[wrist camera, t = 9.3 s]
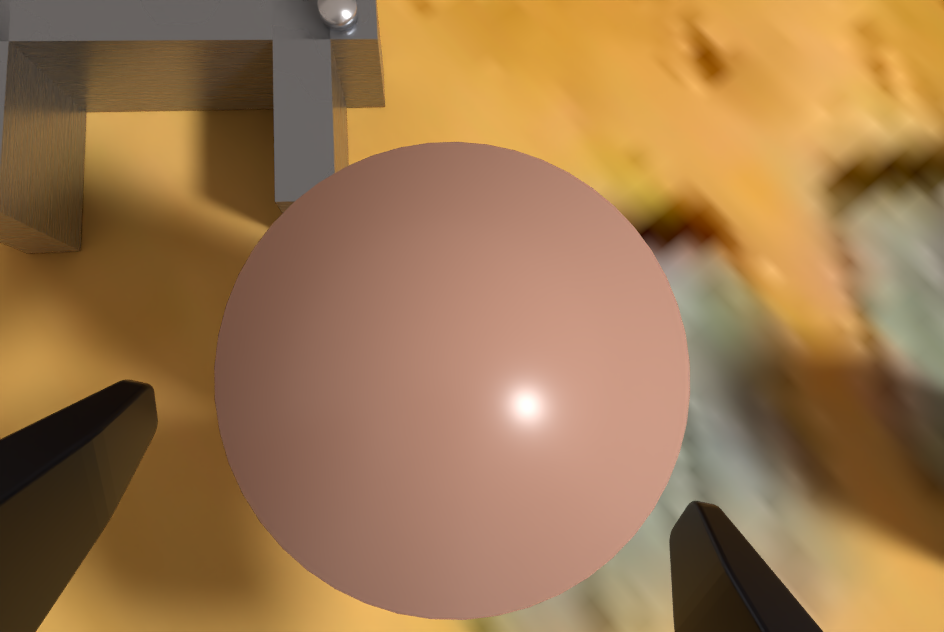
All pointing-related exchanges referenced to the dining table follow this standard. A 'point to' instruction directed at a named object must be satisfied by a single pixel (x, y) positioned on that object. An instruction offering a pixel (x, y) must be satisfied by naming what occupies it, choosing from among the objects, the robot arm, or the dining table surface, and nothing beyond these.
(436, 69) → the dining table surface
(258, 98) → the bracket
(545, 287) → the mushroom
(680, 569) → the robot arm
